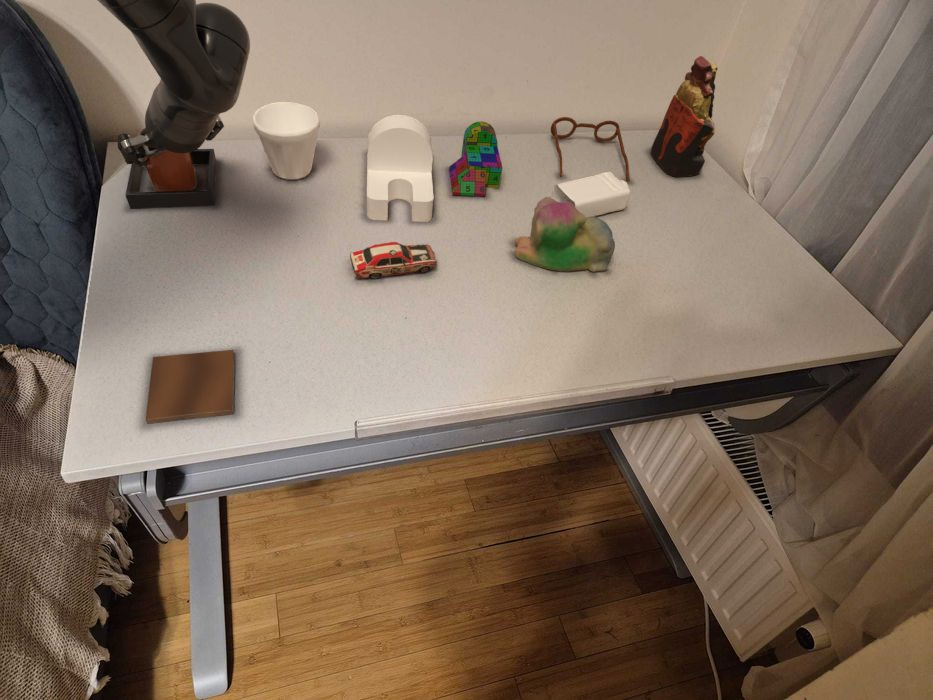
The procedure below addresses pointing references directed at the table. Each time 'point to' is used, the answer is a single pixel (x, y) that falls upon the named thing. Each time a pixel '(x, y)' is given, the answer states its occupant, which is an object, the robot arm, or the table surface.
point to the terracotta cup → (171, 171)
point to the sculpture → (566, 239)
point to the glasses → (575, 125)
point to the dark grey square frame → (174, 197)
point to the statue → (687, 123)
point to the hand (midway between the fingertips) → (162, 152)
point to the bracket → (399, 167)
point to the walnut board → (191, 386)
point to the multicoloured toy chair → (477, 162)
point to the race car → (392, 260)
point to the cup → (288, 137)
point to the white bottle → (594, 194)
